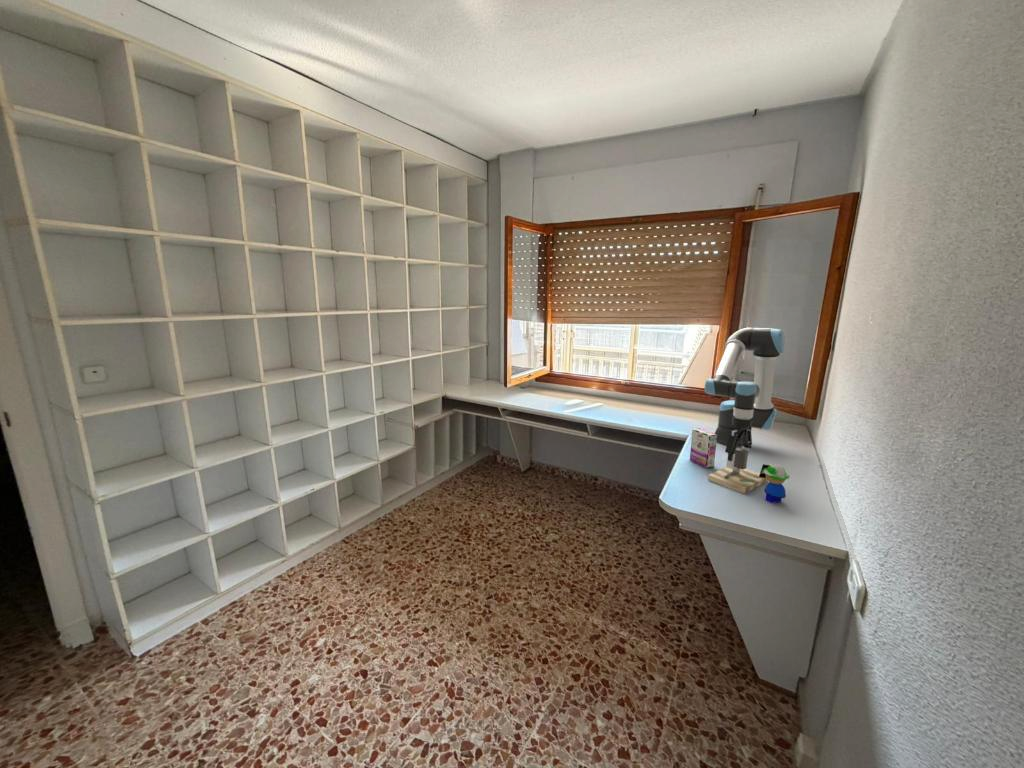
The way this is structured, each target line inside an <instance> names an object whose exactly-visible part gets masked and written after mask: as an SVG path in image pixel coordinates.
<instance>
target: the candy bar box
mask: <svg viewBox="0 0 1024 768" xmlns="http://www.w3.org/2000/svg"><path fill="white" fill-rule="evenodd" d="M714 433H715V432H711V431H709V430H706V429H704V428H699V427H697V428H692V432H691V441H690V442H691V443H690V452H689V453H690V454H689V461H691V462H692V463H695V464H697V465H700V466H701V467H704V468H706V469H707V468H708V469H709V468H710V469H711V468H714V467H715V459H716V450H717V434H714Z"/></svg>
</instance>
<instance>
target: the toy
mask: <svg viewBox="0 0 1024 768" xmlns="http://www.w3.org/2000/svg"><path fill="white" fill-rule="evenodd" d="M760 469H761V470H760V472H759V473H760V475H759V477H761V478H766V479H767V480H768V481H767V482H768V483H767V484H766V485H765V488H764V489H763V491H764V493H765V499H764V500H765V501H766V502H768V503H771V504H772V503H781V502H782V499H785V498H786V497H787V495H786V488H785V486H784V485H783V484H784V482H785V481H786V480H789V479H790V474H789V473H788V472H787V471H786V469H785V468H784V466H782V465H781V464H778V463H774V464H771V465H770V464H762V466H761V468H760Z"/></svg>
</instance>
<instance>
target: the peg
mask: <svg viewBox="0 0 1024 768" xmlns="http://www.w3.org/2000/svg"><path fill="white" fill-rule="evenodd" d="M734 454H735V460H734V468H733V470H732V472H731V473H729V474H727V475H724V477H728V476H730V475H732V474H734V473H735V474H740V469H747V464H748V459H747V458H748V457H749V451H746V450H742V448H738V447H737V448H736V450H735V452H734Z"/></svg>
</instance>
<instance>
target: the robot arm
mask: <svg viewBox="0 0 1024 768" xmlns="http://www.w3.org/2000/svg"><path fill="white" fill-rule="evenodd" d="M784 350H785V333H784V331H783V330H782V329H781V328H771V327H745V328H740V329H739V330H737V331H735V332H734V333H732V335H730V336H729V337H728V339H726V342H725V343H724V350H723V351H724V352H723V354H722V357H721V359H720V362H719V363H718V366H717V368H716V371H715V374H714V375H713V378H707V379H706V380H705V384H704V393H706V394H707V395H712V396H719V397H725V398H727V397H728V398H733V399H732V400H724V401H722V402H721V403H720V405H719V409H718V422H717V427H716V430H715V432H713V433H714V434H717V443H718V444H719V445H720V444H721V445H723V446H724V445H725V446H726V448H725V451H724V452H725V453H726V454H727V458H726V460H727V461H726V467H730V468H734V460H735V454H734V452H735V450H736V448H738V446H741V449H742V450H746V451H748V452H749V449H752V446H753V438H752V429H759V430H767V431H768V430H769V431H770V430H771V428H772V427H773V424H774V422H775V419H776V415H777V413H778V412H777V411H778V410H777V409H776V408H775V407H774V406H775V405H774V403H772V395H773V388H774V387H773V385H774V376H775V368H776V360H777V358H779V357H780V356H781V355H780V354H782V353H784V352H785V351H784ZM745 351H751V352H752V355H753V356H754V358H755V364H754V365H755V366H754V376H753V381H734V380H732V379H733V378H734V373H735V372H736V368H737V366H738V363H739V361H740V358H741V356H742V355H743V354H744V353H745ZM717 443H716V444H717ZM747 460H748V458H747Z"/></svg>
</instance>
